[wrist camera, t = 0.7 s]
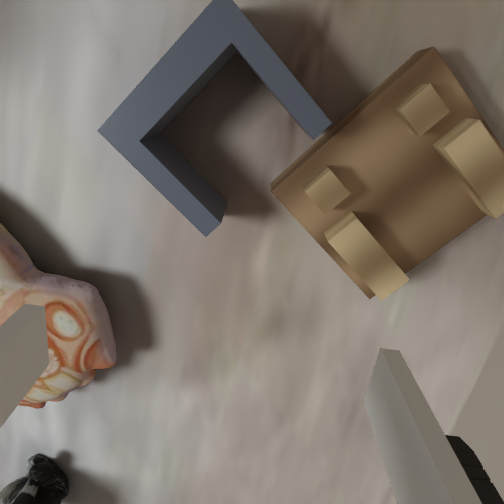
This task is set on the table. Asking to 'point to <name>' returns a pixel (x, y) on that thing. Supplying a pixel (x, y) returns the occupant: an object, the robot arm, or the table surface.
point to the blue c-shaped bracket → (183, 91)
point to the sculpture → (57, 322)
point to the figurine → (37, 484)
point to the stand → (397, 176)
